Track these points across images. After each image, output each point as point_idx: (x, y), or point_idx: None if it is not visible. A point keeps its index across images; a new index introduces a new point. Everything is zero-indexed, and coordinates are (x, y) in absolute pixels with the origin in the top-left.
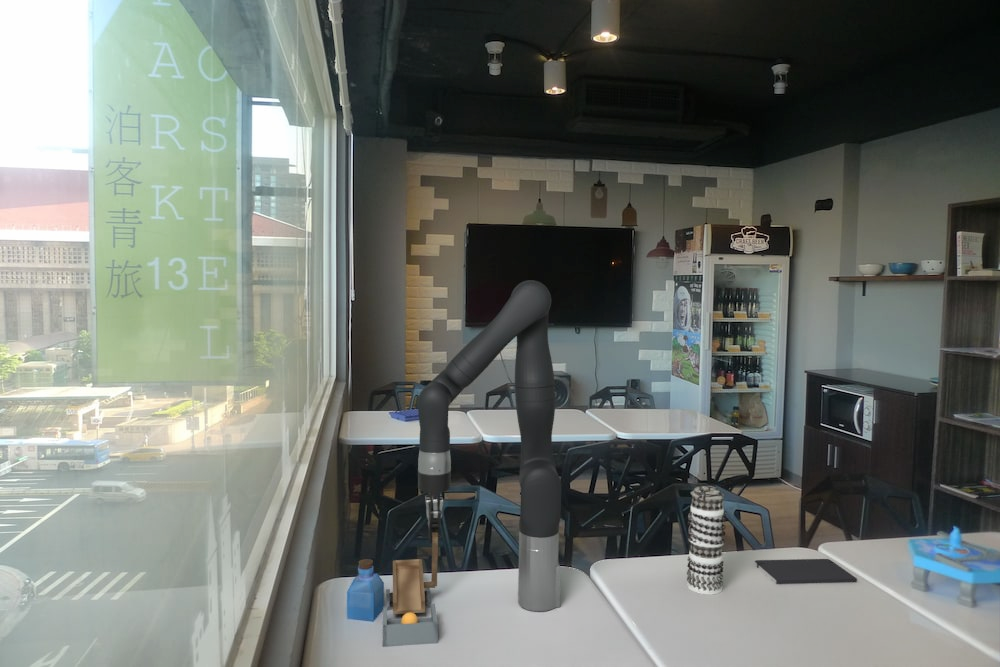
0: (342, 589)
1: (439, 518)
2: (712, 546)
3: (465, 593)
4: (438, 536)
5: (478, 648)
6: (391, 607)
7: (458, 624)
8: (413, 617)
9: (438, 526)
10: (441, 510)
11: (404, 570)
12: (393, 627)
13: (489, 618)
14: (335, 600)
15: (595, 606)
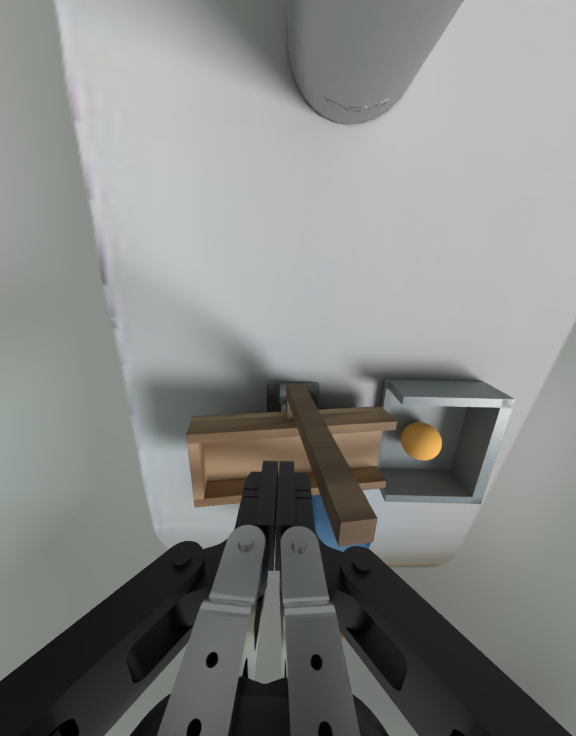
0: (209, 534)
1: (505, 686)
2: None
3: (253, 288)
4: (294, 481)
5: (543, 296)
6: None
7: (417, 327)
8: (438, 441)
9: (377, 566)
10: (353, 712)
11: (212, 462)
12: (485, 484)
13: (411, 242)
14: None
15: None
